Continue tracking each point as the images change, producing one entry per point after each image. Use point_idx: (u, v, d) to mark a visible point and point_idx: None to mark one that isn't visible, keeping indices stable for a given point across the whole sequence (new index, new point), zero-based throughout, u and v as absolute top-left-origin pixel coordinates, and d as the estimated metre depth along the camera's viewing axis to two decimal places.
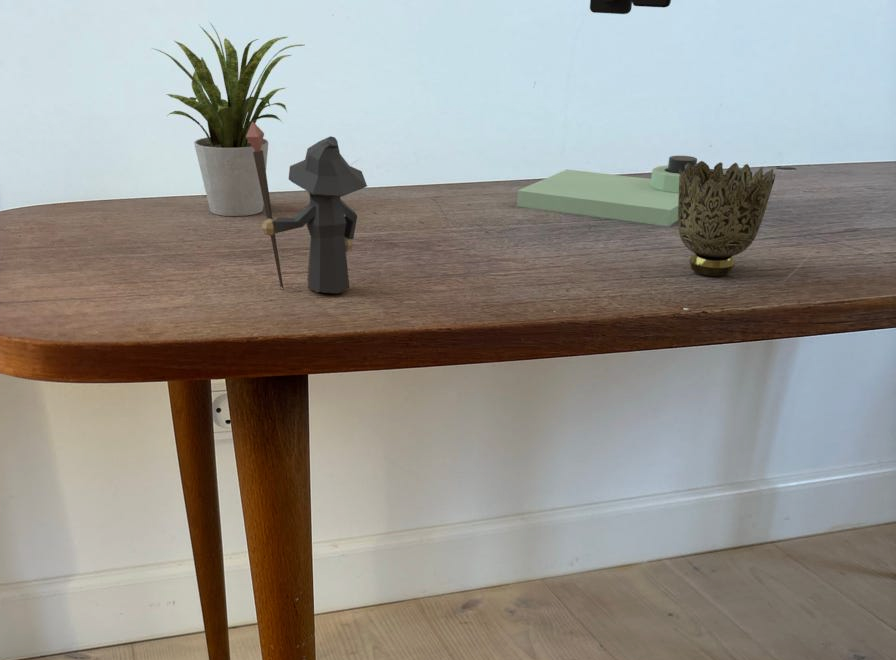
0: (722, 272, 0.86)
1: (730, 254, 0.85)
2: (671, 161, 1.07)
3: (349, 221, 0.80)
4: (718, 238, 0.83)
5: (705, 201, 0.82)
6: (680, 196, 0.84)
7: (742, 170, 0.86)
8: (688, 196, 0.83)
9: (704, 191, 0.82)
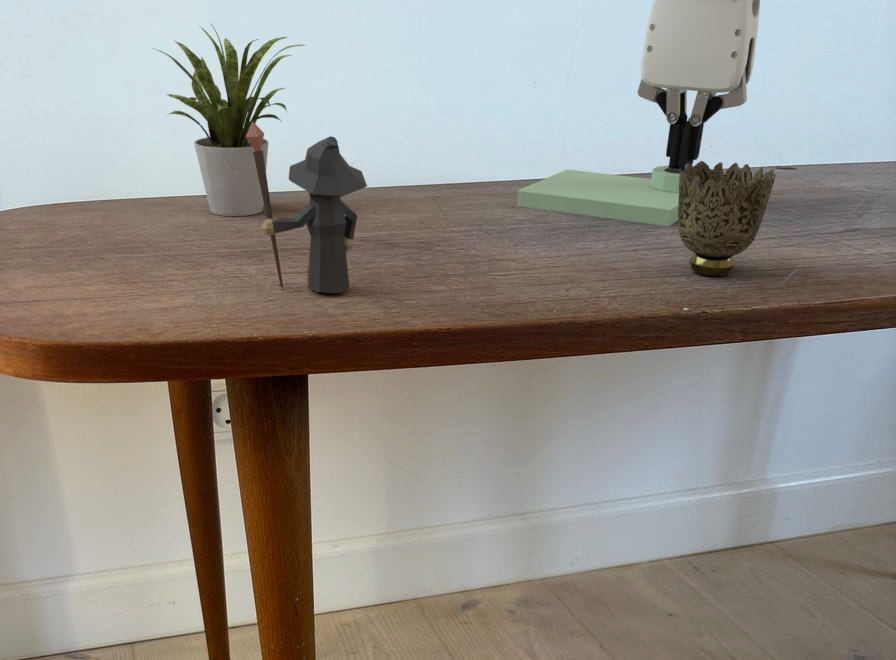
0: (722, 272, 0.86)
1: (730, 254, 0.85)
2: (670, 170, 1.07)
3: (349, 221, 0.80)
4: (718, 238, 0.83)
5: (705, 201, 0.82)
6: (680, 196, 0.84)
7: (742, 170, 0.86)
8: (688, 196, 0.83)
9: (704, 191, 0.82)
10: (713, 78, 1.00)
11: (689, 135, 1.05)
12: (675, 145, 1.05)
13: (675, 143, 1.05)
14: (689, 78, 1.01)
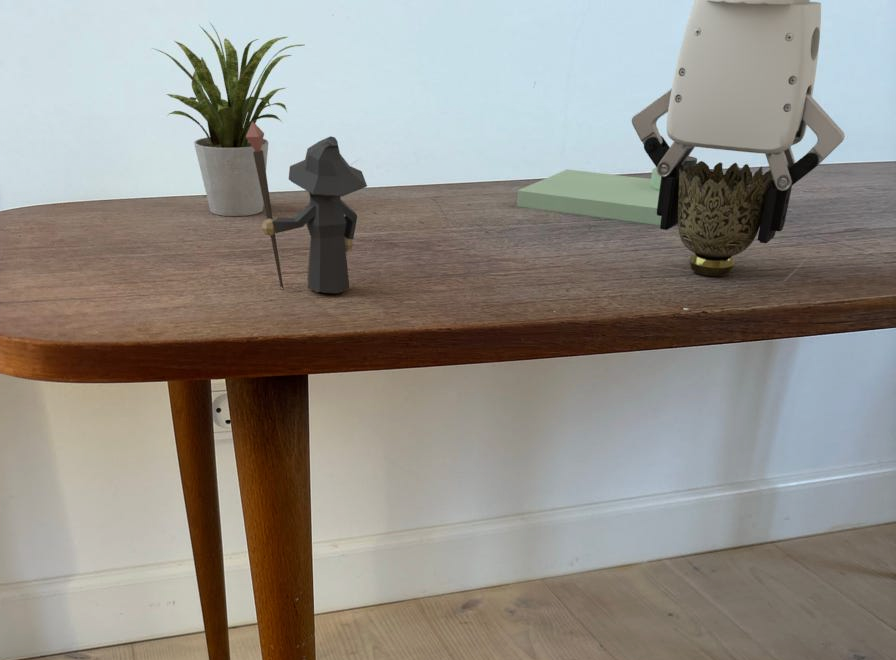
0: (722, 272, 0.86)
1: (730, 254, 0.85)
2: None
3: (349, 221, 0.80)
4: (717, 238, 0.83)
5: (705, 201, 0.82)
6: (680, 196, 0.84)
7: (742, 170, 0.86)
8: (688, 196, 0.83)
9: (703, 191, 0.82)
10: (759, 136, 0.79)
11: (774, 201, 0.82)
12: (668, 202, 0.85)
13: (668, 200, 0.85)
14: (728, 135, 0.80)
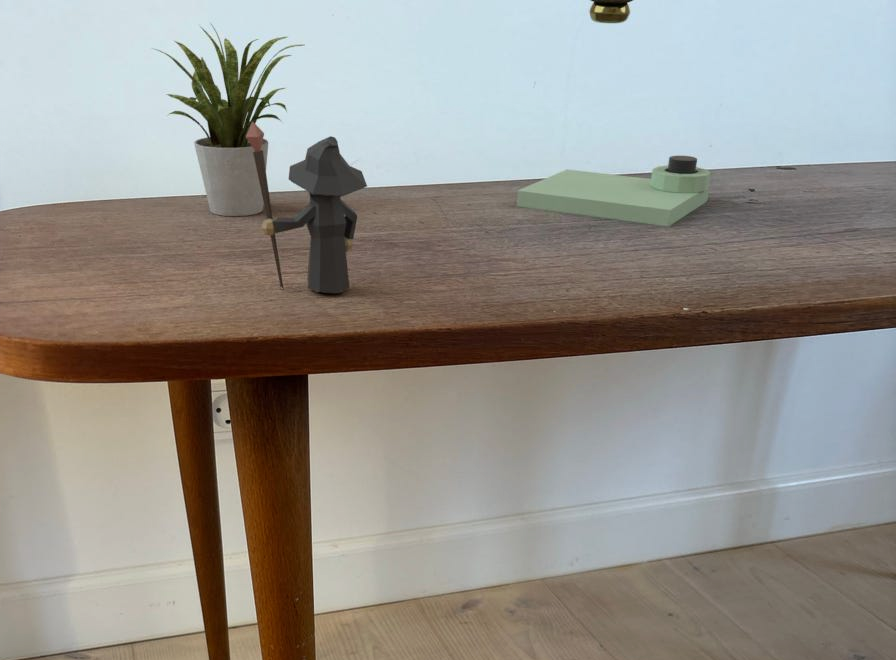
0: (617, 18, 0.96)
1: None
2: (671, 161, 1.07)
3: (349, 221, 0.80)
4: None
5: None
6: None
7: None
8: None
9: None
10: None
11: None
12: None
13: None
14: None
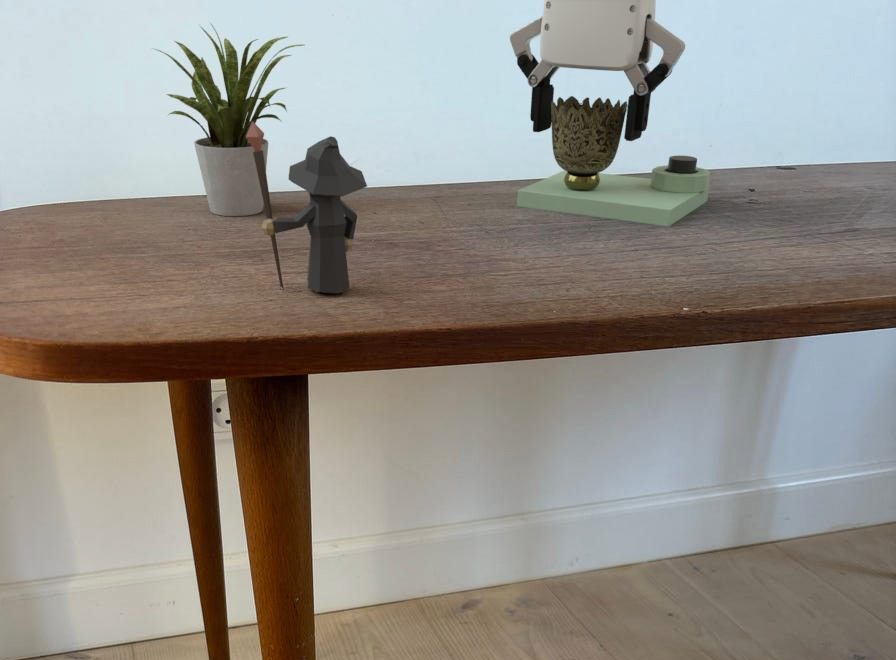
0: (588, 187, 1.06)
1: (593, 171, 1.05)
2: (671, 161, 1.07)
3: (349, 221, 0.80)
4: (581, 156, 1.03)
5: (569, 126, 1.02)
6: (552, 123, 1.04)
7: (604, 103, 1.06)
8: (557, 122, 1.03)
9: (568, 117, 1.01)
10: (610, 56, 0.98)
11: (635, 105, 1.00)
12: (537, 108, 1.04)
13: (537, 106, 1.04)
14: (586, 57, 0.99)
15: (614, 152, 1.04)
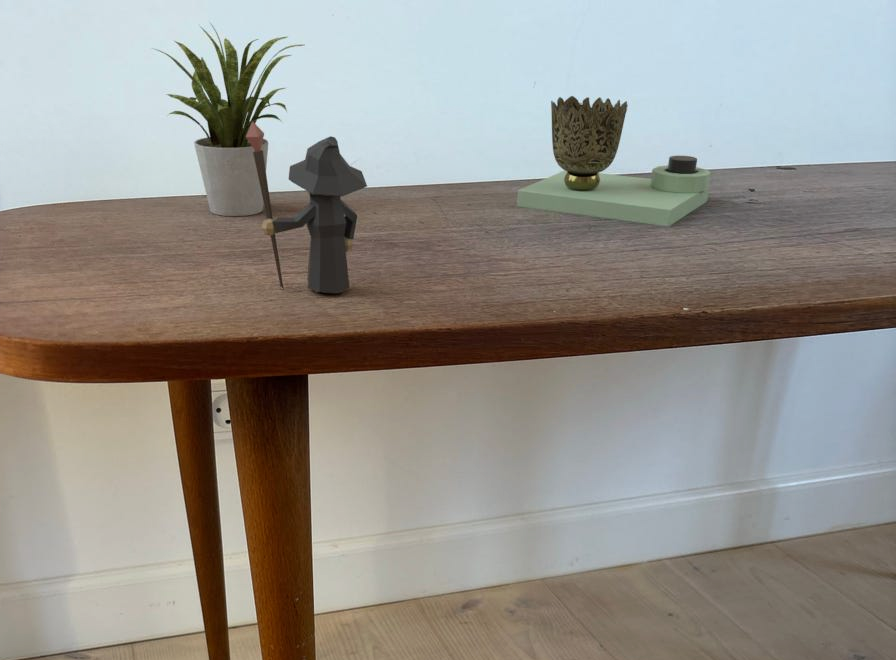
0: (588, 187, 1.06)
1: (593, 171, 1.05)
2: (671, 161, 1.07)
3: (349, 221, 0.80)
4: (581, 156, 1.03)
5: (569, 126, 1.02)
6: (552, 123, 1.04)
7: (605, 103, 1.06)
8: (557, 122, 1.03)
9: (568, 117, 1.01)
10: None
11: None
12: None
13: None
14: None
15: (614, 152, 1.04)
